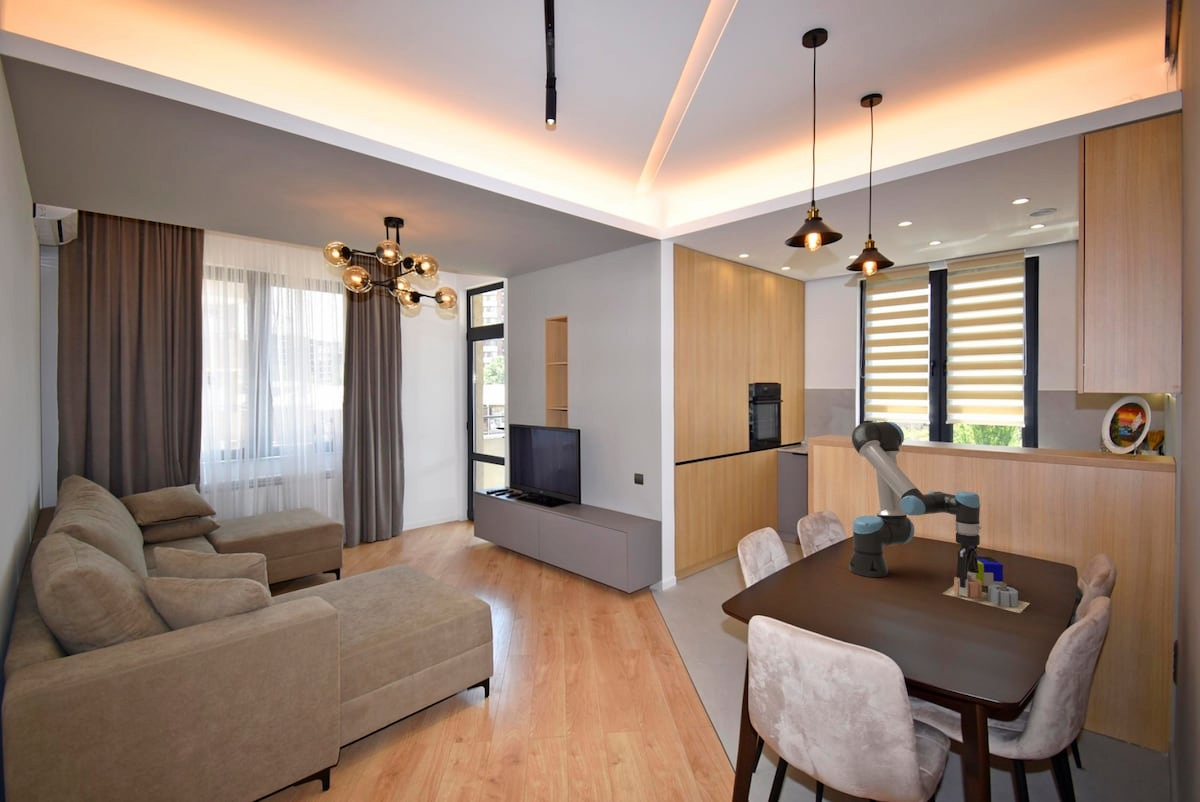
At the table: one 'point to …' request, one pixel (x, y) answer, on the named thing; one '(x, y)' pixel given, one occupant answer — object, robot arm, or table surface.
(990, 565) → the puzzle toy
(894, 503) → the robot arm
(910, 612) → the table surface
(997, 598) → the gear
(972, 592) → the loose gear
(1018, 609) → the gear board
